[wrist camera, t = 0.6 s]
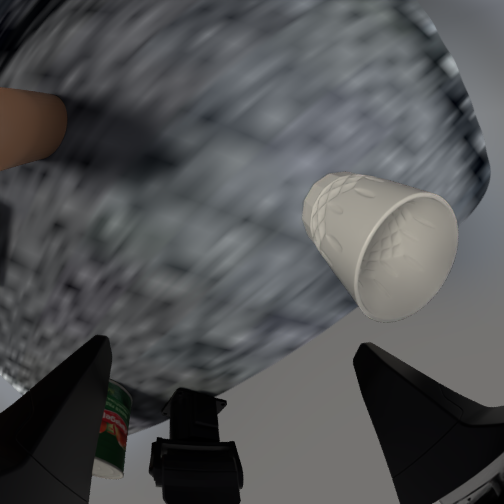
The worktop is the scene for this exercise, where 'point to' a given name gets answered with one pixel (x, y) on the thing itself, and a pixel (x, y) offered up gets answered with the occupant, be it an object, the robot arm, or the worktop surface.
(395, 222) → the white cup
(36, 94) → the orange rounded blob
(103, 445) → the canned tomato
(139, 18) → the worktop surface
